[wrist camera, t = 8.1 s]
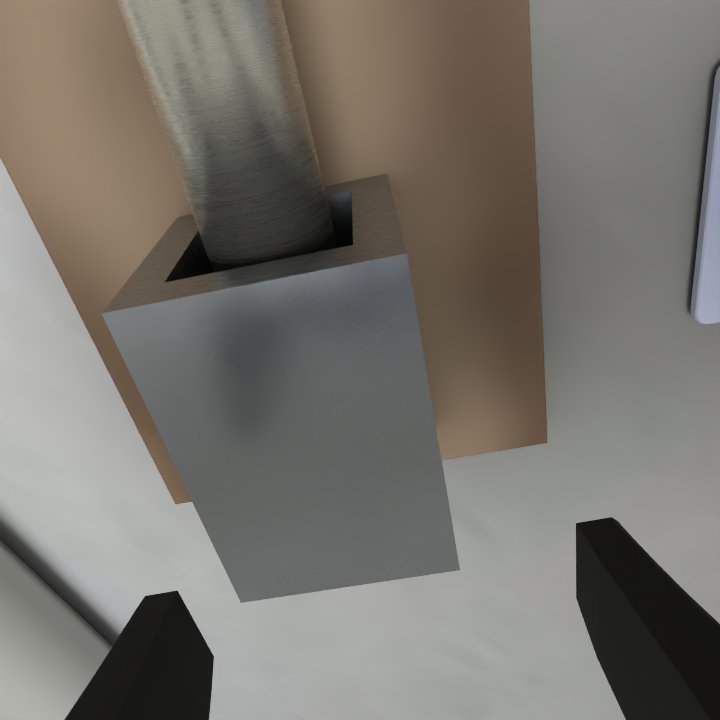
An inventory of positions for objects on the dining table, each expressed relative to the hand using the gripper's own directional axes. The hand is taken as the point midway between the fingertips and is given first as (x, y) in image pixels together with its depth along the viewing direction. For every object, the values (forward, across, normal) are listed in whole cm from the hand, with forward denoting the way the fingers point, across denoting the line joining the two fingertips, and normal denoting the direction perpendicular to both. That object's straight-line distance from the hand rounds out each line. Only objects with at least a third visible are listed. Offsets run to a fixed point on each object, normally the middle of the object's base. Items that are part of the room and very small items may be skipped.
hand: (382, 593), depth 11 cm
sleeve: (+10, +1, 0) cm, 10 cm away
